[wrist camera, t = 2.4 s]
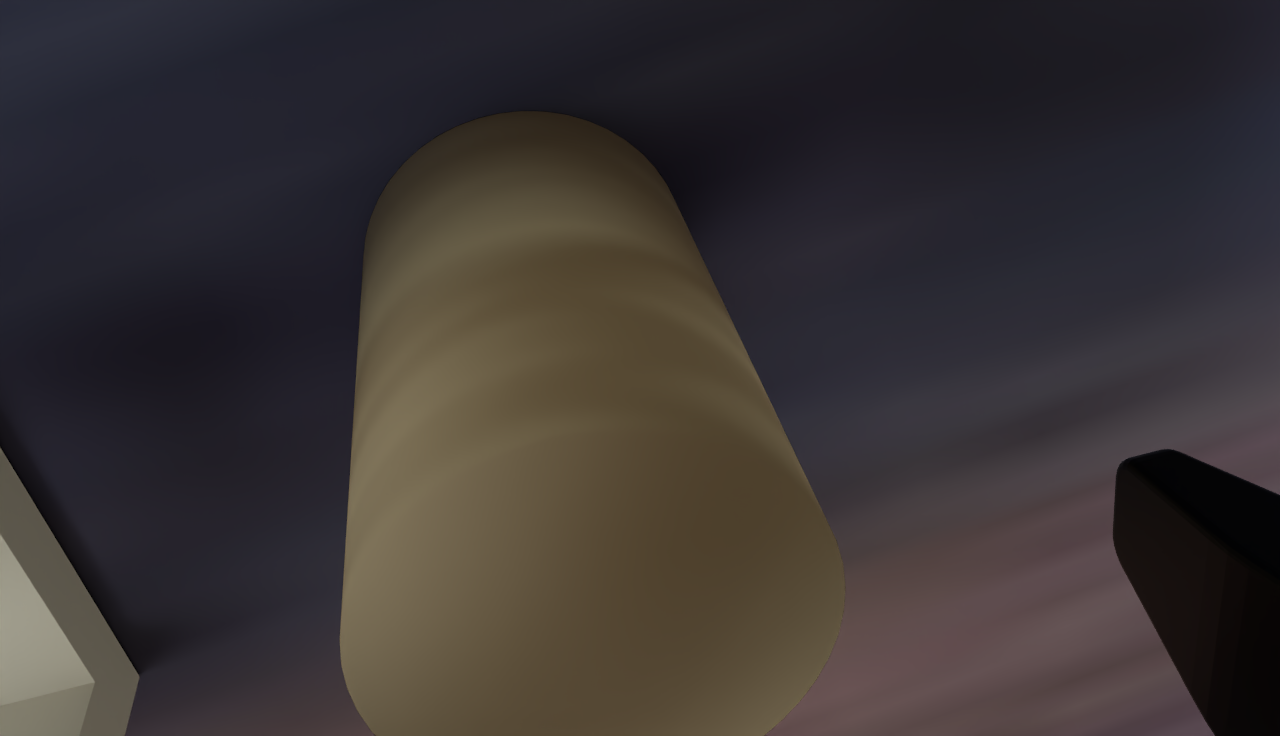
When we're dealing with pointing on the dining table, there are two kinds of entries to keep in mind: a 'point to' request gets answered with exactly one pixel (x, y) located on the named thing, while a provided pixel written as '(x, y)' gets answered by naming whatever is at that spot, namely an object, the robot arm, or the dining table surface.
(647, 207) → the jaw peg
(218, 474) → the dining table surface
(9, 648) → the housing
